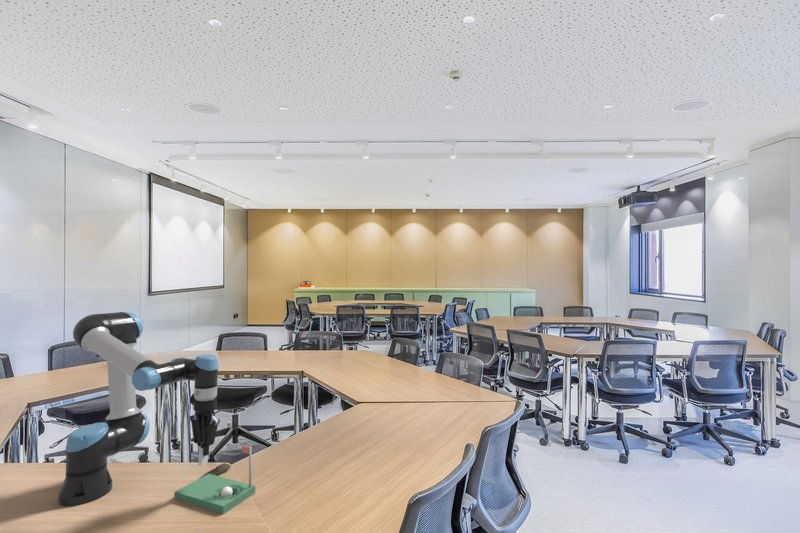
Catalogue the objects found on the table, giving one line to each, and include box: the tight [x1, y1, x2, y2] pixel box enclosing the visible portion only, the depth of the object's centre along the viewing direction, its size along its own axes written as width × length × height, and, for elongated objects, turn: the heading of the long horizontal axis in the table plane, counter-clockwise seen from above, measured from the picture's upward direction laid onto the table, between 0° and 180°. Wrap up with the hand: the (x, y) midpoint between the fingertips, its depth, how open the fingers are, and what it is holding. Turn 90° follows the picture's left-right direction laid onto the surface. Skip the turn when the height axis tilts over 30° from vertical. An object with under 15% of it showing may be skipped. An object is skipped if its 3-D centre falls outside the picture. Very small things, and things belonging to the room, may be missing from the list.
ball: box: [220, 487, 233, 497], centre depth 135 cm, size 4×4×4 cm
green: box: [173, 445, 256, 515], centre depth 137 cm, size 24×14×16 cm, turn 66°
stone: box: [198, 463, 232, 479], centre depth 152 cm, size 13×5×2 cm, turn 156°
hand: (203, 463), depth 139 cm, fingers closed
